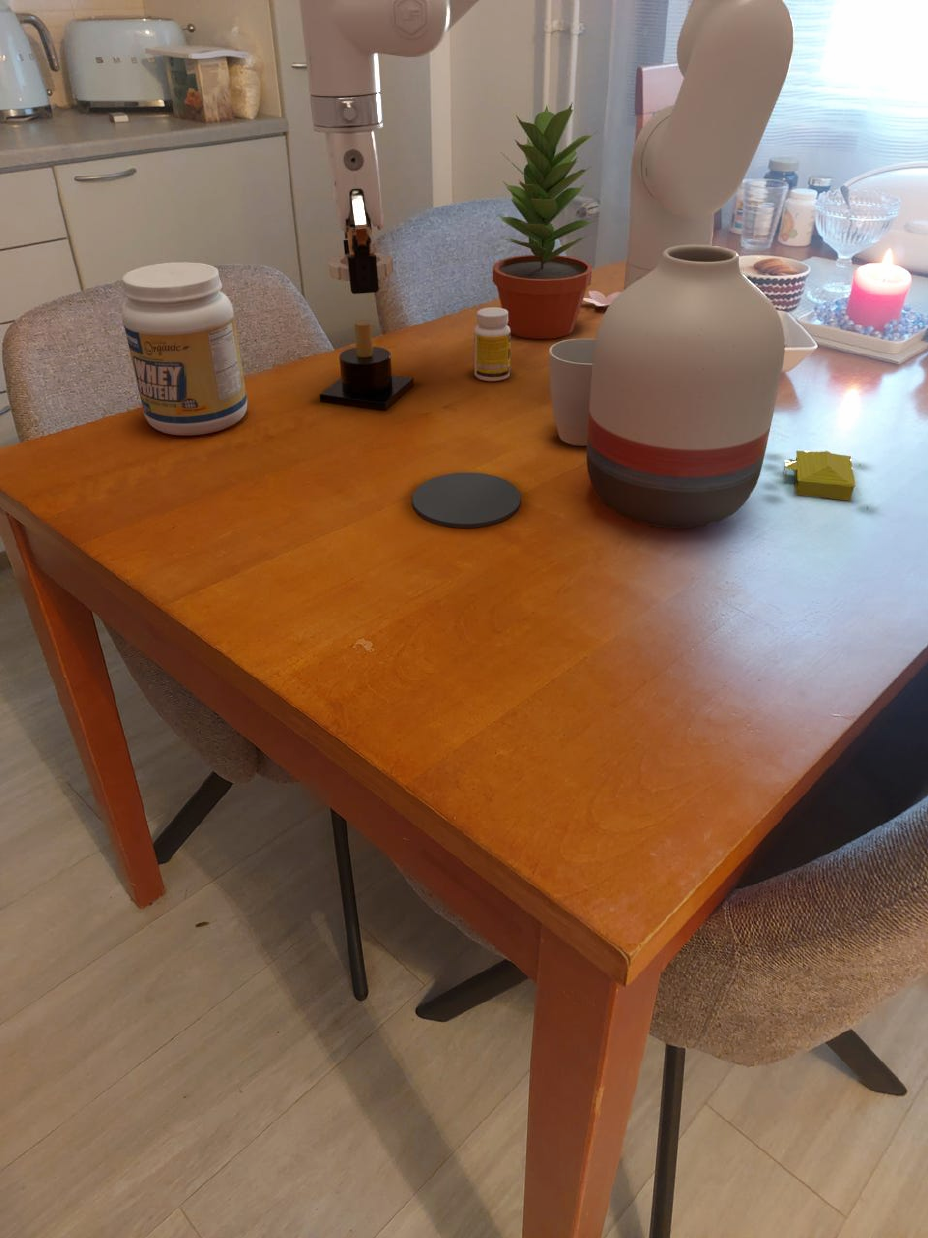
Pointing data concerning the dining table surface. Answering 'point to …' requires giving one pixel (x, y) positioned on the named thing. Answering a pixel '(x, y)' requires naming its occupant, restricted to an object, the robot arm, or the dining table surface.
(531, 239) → the potted plant
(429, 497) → the coaster
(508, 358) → the supplement bottle
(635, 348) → the vase
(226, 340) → the supplement tub
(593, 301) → the flower
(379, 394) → the ring holder
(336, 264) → the ring
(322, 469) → the dining table surface
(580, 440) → the cup
